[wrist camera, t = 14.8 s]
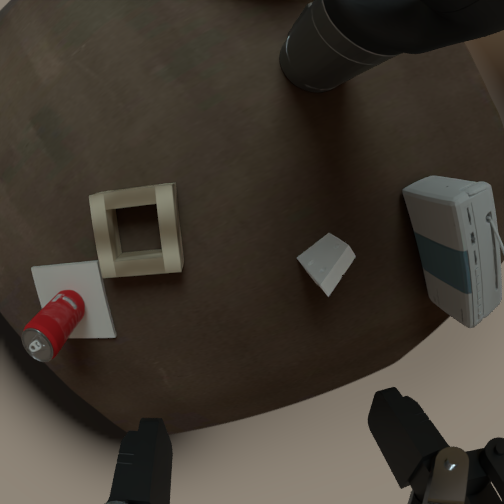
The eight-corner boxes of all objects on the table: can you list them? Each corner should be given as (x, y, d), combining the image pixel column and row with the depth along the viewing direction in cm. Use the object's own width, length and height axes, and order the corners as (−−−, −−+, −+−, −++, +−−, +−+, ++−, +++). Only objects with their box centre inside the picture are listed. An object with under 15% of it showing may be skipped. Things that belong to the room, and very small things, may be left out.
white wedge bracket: (274, 283, 40) (320, 285, 33) (315, 234, 44) (360, 227, 37) (290, 302, 41) (336, 307, 34) (327, 253, 46) (373, 249, 38)
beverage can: (93, 309, 40) (62, 355, 28) (71, 323, 40) (39, 368, 29) (73, 281, 38) (34, 319, 27) (52, 296, 38) (13, 336, 27)
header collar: (99, 192, 36) (88, 195, 33) (176, 182, 37) (171, 184, 34) (111, 267, 39) (102, 278, 36) (184, 261, 40) (181, 271, 37)
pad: (33, 266, 38) (31, 268, 37) (98, 260, 39) (96, 262, 38) (54, 335, 41) (52, 337, 40) (116, 335, 42) (115, 337, 42)
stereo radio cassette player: (394, 189, 41) (495, 214, 22) (431, 169, 41) (530, 184, 22) (423, 298, 48) (498, 356, 29) (455, 276, 48) (531, 322, 28)
